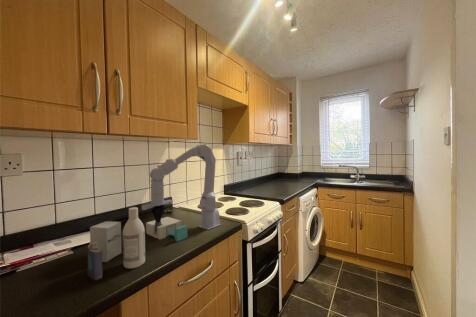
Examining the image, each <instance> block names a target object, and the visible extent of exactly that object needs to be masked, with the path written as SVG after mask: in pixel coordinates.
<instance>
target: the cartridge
mask: <svg viewBox="0 0 476 317" xmlns="http://www.w3.org/2000/svg"><path fill="white" fill-rule="evenodd" d="M169 236H171V237H173V238H174V241H175V242H179V241H182V240H184V239H187V238H188V237H189V236H188V225H186V224H184V225H183V224H182V225H181V226H180V227H177V228H175V225H171V226H168V227H166V237H169Z"/></svg>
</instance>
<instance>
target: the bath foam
mask: <svg viewBox="0 0 476 317" xmlns="http://www.w3.org/2000/svg"><path fill="white" fill-rule="evenodd" d="M145 235H146V231H145V226H144V223H143V222H142V220H141V219H140V217H139V208H138V207H136V206H132V207H129V208H128V220H127V221H126V223H125V225H124V226H123V229H122V254H123V255H122V260H123V267H124V268H125V269H131V270H132V269H136V268H140V266H141V267H142V266H143V265H144V264H145V262H146V236H145Z"/></svg>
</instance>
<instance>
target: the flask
mask: <svg viewBox="0 0 476 317" xmlns="http://www.w3.org/2000/svg"><path fill="white" fill-rule="evenodd" d="M96 244H97V242H96V243H94V242H91V243H90V242H89V244H88V245H87V276H88V277H89V278H90V279H91V280H93V281H99V280H101V279H103V277H104V276H103V275H104V273H103V262H102V249H99V248H98V247H97V245H96Z"/></svg>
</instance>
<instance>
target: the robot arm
mask: <svg viewBox="0 0 476 317" xmlns="http://www.w3.org/2000/svg"><path fill="white" fill-rule="evenodd" d="M192 157H198V158H200V159H201V160H203V162H204V163H205V169H204V182H203V185H204V186H203V192H202V193H201V198H200V200H199V206H200V207H201V209H200V210H201V213H200V214H201V224H200V225H197V227H198V228H201V229H204V230H208V231H209V230H212V229H213V228H216V227H219V226H220V225H221V223H220V210H219V209H218V208H217V201H216V195H215V193H214V190H215V178H216V177H215V175H216V164H217V162H216V157H215V156H214V153H213V148H212V147H210V146H209V145H208V144H198V145H196V146H194V147H192V148H190V149H188V150H186V151H185V152H183V153H182V154H180V155H179V156H178V157H176V158H175V159H173V158H170V159H169V158H168V159H166V160H165V161H164V162H163V163H162V164H157V167H154V168H152V169H151V171H150V173H149V177H150V178H151V179H150V203H146V204H142V205H141V210H142V211H146V210H149V209H150V211H151V213H152V214H153V217H154V220H155V221H156V222H160V221H161V218H163V217H162V216H163V213H164V211H165V210H166V205H172V204H173V199H166V200H165V189H164V187H165V186H164V179H165V176H167V175H169V174H171V173H173V172H174V171H175V170H177V169H178V168H179V165H180V164H181V163H184V162H185V161H187V160H188V159H191V158H192Z"/></svg>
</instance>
